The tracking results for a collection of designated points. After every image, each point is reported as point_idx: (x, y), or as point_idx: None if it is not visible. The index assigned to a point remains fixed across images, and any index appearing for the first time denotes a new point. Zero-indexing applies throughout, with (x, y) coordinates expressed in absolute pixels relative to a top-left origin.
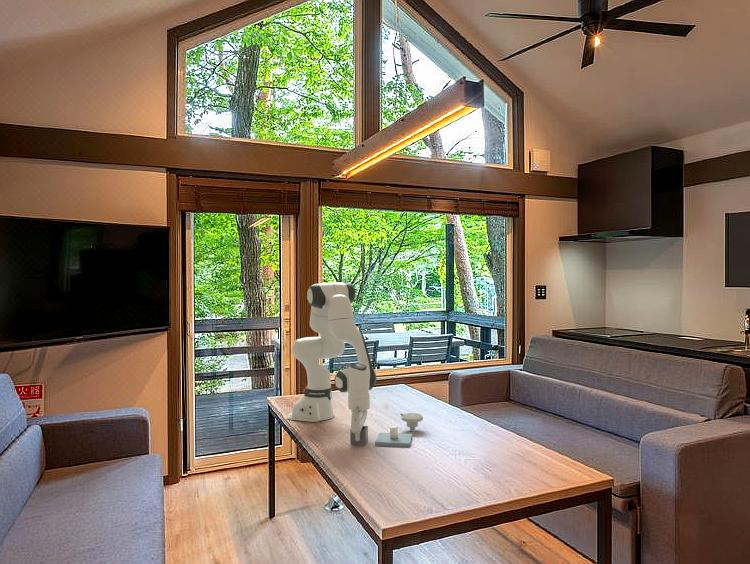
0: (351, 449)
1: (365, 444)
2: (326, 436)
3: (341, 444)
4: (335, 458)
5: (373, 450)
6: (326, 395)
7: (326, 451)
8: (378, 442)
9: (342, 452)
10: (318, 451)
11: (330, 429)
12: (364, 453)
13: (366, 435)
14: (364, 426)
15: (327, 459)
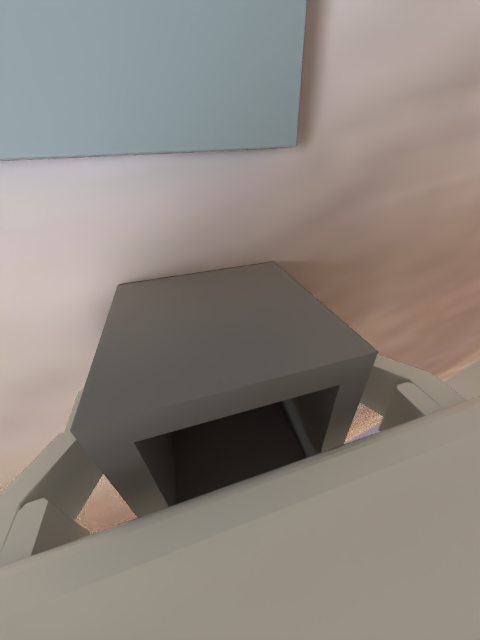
0: (356, 327)
1: (277, 265)
2: None
3: None
4: (460, 343)
5: (411, 137)
6: None
7: (365, 409)
8: (297, 79)
9: (393, 349)
10: (360, 429)
11: None
12: (452, 212)
13: (241, 309)
14: (136, 457)
15: (457, 365)
